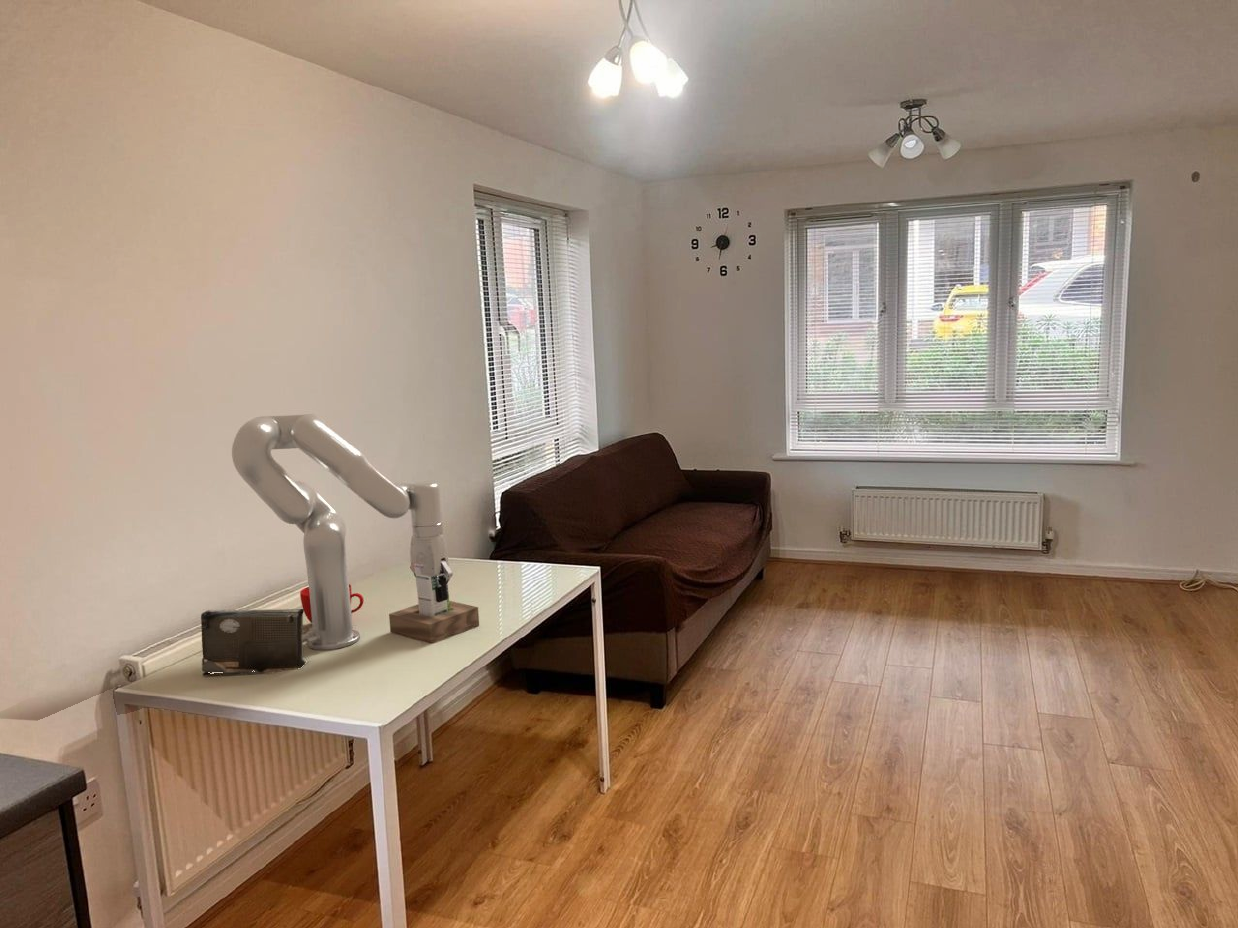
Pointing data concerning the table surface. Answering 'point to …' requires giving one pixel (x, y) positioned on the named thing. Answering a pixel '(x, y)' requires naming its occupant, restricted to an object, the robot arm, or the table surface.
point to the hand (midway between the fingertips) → (433, 598)
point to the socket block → (434, 622)
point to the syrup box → (429, 595)
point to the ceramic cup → (307, 607)
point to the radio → (251, 641)
